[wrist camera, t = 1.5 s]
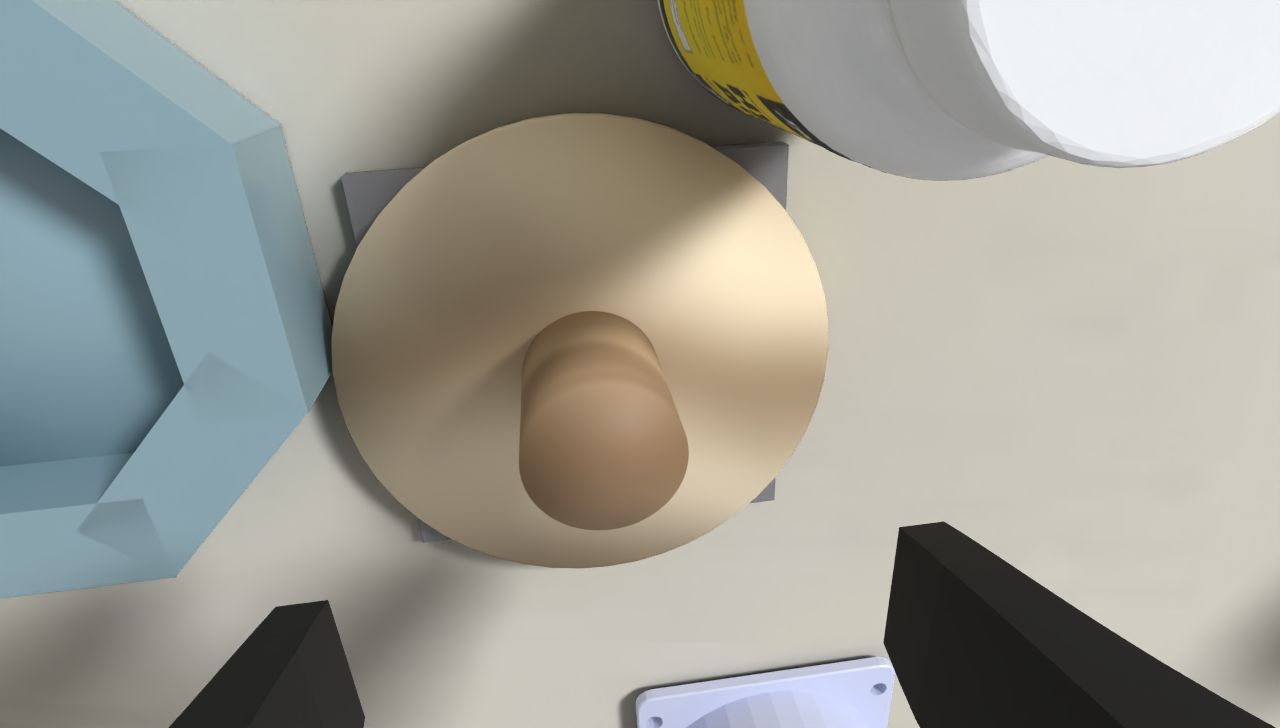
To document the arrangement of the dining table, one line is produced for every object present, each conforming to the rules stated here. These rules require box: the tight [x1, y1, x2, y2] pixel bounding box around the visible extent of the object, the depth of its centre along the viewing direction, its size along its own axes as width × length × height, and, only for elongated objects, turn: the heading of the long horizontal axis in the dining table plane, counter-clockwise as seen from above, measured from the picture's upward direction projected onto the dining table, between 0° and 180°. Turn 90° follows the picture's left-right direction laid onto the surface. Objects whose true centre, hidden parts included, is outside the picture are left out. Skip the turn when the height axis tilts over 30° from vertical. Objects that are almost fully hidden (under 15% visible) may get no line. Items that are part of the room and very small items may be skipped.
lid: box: [331, 113, 828, 568], centre depth 15 cm, size 11×11×4 cm
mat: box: [341, 142, 789, 542], centre depth 17 cm, size 9×9×1 cm
